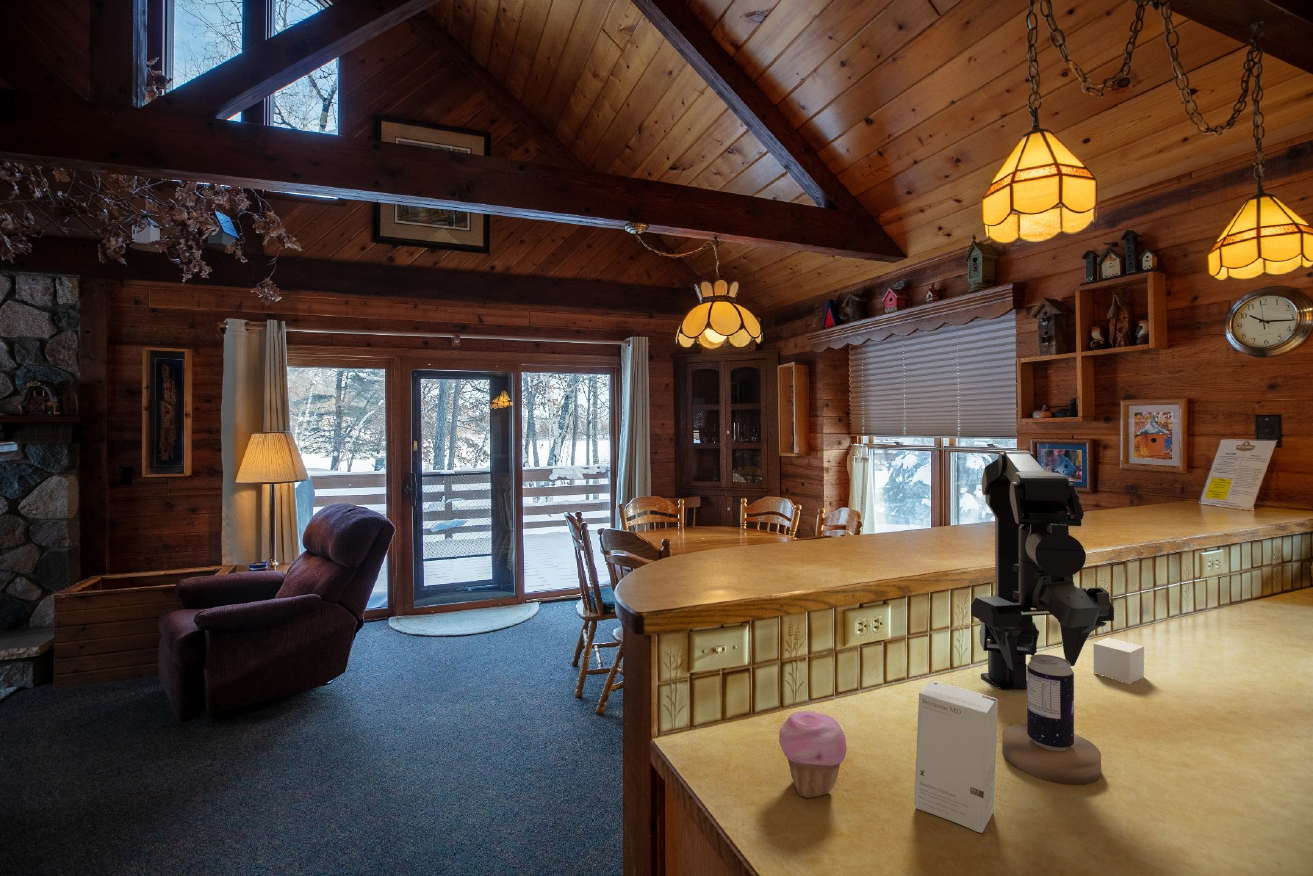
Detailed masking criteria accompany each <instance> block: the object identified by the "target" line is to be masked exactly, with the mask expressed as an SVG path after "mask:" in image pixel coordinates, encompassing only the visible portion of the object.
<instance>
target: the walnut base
mask: <svg viewBox="0 0 1313 876" xmlns="http://www.w3.org/2000/svg"><path fill="white" fill-rule="evenodd" d="M1001 738H1002V739H1001V745H1002V746H1001V747H1002V748H1001V750H1002V755H1003V757H1004V758H1005V760H1006V761H1007V762H1008V763H1010V764H1011V765H1012V766H1013V767H1015V768H1016V769H1017V770H1020V771H1021V772H1024V773H1025V774H1028V775H1030V776H1032V777H1035V778H1037V779H1040V780H1045V781H1048V782H1052V783H1057V784H1062V785H1072V786H1073V785H1074V786H1075V785H1076V786H1078V785H1087V784H1093V783H1096V782H1098V780H1100V779H1101V777H1102V754H1101V751H1100V749H1099V748H1098V747H1097V746H1096V745H1094V743H1092V742H1091V741H1090V740H1089V739H1087V738H1084V737H1083V736H1080V735H1078V734H1076V733H1074V744H1073V745H1072V746H1070V747H1068V748H1067V749H1066V750H1063V751H1054V750H1049V749H1045V748H1043V747H1040V746H1039V745H1037V744H1036V743H1035V742H1034V741H1033V739H1031V738H1030V737H1029V735H1028V734H1027V723H1017V724H1012V725H1009V726H1007V727H1006V728H1004V729H1003V730H1002V733H1001Z"/></svg>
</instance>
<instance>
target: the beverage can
mask: <svg viewBox="0 0 1313 876" xmlns="http://www.w3.org/2000/svg"><path fill="white" fill-rule="evenodd" d="M1071 667H1072V666H1071V664H1070V662H1069V661H1067V660H1065V658H1063V657H1060V656H1056V655H1051V654H1043V653H1042V654H1040V653H1039V654H1035V655H1033V656H1032V655H1030V660H1029V662H1028V663H1027V688H1026V698H1027V700H1026V715H1027V716H1026V717H1027V718H1026V724H1027V734H1028V735H1029V737H1030V738H1031V739H1033V741H1034V742H1035V743H1036V744H1037V745H1039V746H1040V747H1043V748H1045V749H1049V750H1054V751H1063V750H1066V749H1067V748H1068V747H1070V746H1072V745H1073V744H1074V734H1075V673H1074V671H1073V669H1072V668H1071Z"/></svg>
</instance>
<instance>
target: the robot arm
mask: <svg viewBox="0 0 1313 876" xmlns="http://www.w3.org/2000/svg"><path fill="white" fill-rule="evenodd" d="M998 453H999V454H998V456H997V459H995V460H994V461H992V462H990V463H989V464H987V465H986V466H984V468H983V473H982V477H981V493H982V495H983V496H985V497H984V499H985V504H986V505H987V507H988V508H989V510H990V511H991V513H992V514H993V516H994V552H995V553H994V565H995V566H994V568H995V569H994V575H995V576H994V578H995V579H994V581H995V582H994V583H995V584H994V589H995V590H994V595H993V596H980V597H979V596H977V597H975V598H974V599H972V601H971V603H970V616H972V617H974V618H975V619H978V620H979V622H981V624H980V629H979V644H980V646H981V648H982V650H983V651H984V652H987V672H983V673H980V677H981V678H983V679H984V680H986V681H987V682H989V683H991V684H992V685H994V686H996V687H997V688H998V689H1001V690H1005V691H1006V690H1016V689H1017V690H1019V689H1027V665H1028V663H1027V655H1029V656H1033V655H1036V654H1037V652H1038V651H1037V650H1038V649H1037V648H1038V646H1037V645H1038V640H1039V636H1040V630H1039V629H1038V628H1037V626H1036V622H1035V621H1034V620H1033V619H1034V618H1033V617H1035V616H1037V617H1038V616H1053V617H1054V618H1055V619H1056V620H1057V622H1058V624H1059V625H1060V626H1059V627H1060V632H1061V633H1060V634H1061V642H1062V649H1063V654H1064V659H1065V660H1067V661H1069V662H1070V664H1071V666H1070V667H1075V665H1076V663H1077V661H1078V658H1079V657H1080V654H1081V652H1082V650H1083V647H1084V645H1085V643H1086V641H1087V639H1088V637H1089V635H1090V634H1091V633H1092V632H1094V631H1096V630H1097V629H1099V628H1101V627H1105V626H1106V625H1107V622H1113V621H1115V607H1114V606H1113V604H1112V603H1111V600H1110V592H1109V591H1107V590H1106V589H1105V588H1103V587H1102V586H1100V587H1089V588H1088V589H1087V588H1086V587H1080V588H1079V587H1077V586H1076V585H1075V582H1074V575H1076V574H1077V573H1079V572H1080V571H1081V570H1082V569H1083V567H1084V566H1085V563H1086V560H1087V554H1086V553H1087V552H1086V550H1085V548H1084V546H1083V545H1082V544H1081V541H1079V540H1078V539H1077V538H1075V537H1074V536H1073V535H1071V534H1070V532H1069V529H1070V528H1069V527H1082V525H1083V524H1082V520H1083V519H1084V511H1083V506H1082V503H1081V499H1080V496H1079V493H1078V491H1077V490H1076V489H1075V485H1074V483H1073V482H1070V480H1069V478H1068V476H1067V475H1065V474H1062V473H1060V472H1052V471H1046V470H1045V469H1044V468H1043V467H1042V466H1041V465H1040V463H1039V462H1037V460H1035V455H1034V452H1033V451H1032V452H1030V451H1028V450H1004V451H1002V452H1001V451H1000V452H998Z"/></svg>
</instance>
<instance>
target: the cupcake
mask: <svg viewBox="0 0 1313 876" xmlns="http://www.w3.org/2000/svg"><path fill="white" fill-rule="evenodd" d="M778 733H779V734H778V735H779V736H778V737H779V738H778V742H779V745H780V748H781V750H782V752H783V755H784V756H785V757H786V759H787V763H788V766H789V770H790V776H791V778H792V780H793V784H794V785H795V788H796V790H797V792H798V794H799V795H800V796H801V797H803V798H806V799H811V798H816V797H821V796H825V795H827V794H829V793H830V792H831V791H832V790H833V788H834V787H835V785H836V782H837V779H838V775H839V771H840V768H841V767H840V765H841V764H842V763H844V762H843V761H844V760H845V758H846V754H847V741H846V735H845V732H844V731H843V729H842V728H841V725H840V724H839V722H838V720H836V719H835V718H834V717H833V716H831V715H829V714H826V713H820V712H815V711H811V710H801V711H796V712H793V713H792V714H790V715H789V716H788V718H787V719H786V721H784V722H783V723H782V725H781V726H780V728H779V731H778Z"/></svg>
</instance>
